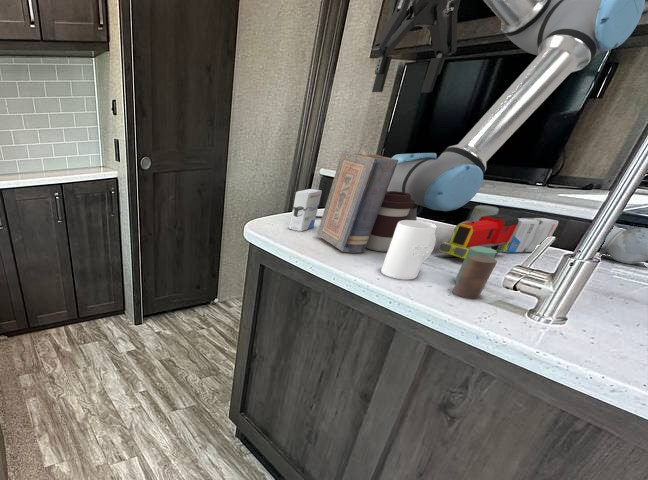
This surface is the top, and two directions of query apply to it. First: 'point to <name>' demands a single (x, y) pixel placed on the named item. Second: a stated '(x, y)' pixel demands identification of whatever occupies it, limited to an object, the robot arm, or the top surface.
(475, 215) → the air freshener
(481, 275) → the walnut peg
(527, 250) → the ink box
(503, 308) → the top surface
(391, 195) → the coffee cup
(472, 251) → the sage peg
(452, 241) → the toy train
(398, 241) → the mug
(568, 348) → the top surface
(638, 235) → the figurine
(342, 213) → the book
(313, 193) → the ink box
